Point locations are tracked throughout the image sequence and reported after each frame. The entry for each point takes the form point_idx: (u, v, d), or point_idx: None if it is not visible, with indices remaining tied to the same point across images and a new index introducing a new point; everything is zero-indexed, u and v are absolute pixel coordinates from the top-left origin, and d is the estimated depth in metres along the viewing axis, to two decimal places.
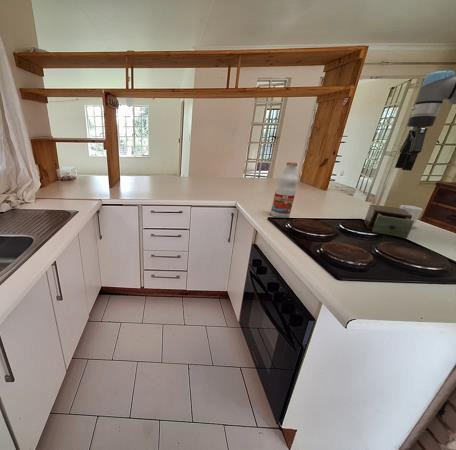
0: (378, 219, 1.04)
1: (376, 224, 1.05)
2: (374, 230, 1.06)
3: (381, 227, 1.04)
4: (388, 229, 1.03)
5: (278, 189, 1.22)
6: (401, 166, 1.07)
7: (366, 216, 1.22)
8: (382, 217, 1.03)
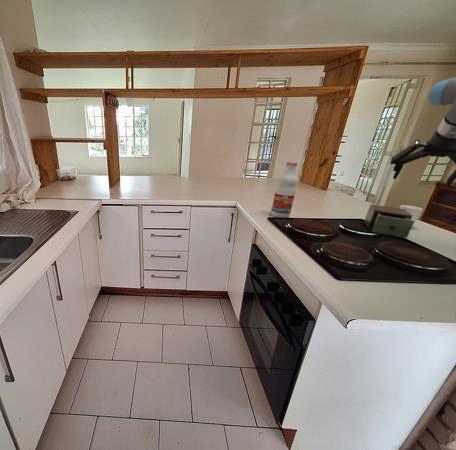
0: (378, 219, 1.04)
1: (376, 224, 1.05)
2: (374, 230, 1.06)
3: (381, 227, 1.04)
4: (388, 229, 1.03)
5: (278, 189, 1.22)
6: None
7: (366, 216, 1.22)
8: (382, 217, 1.03)
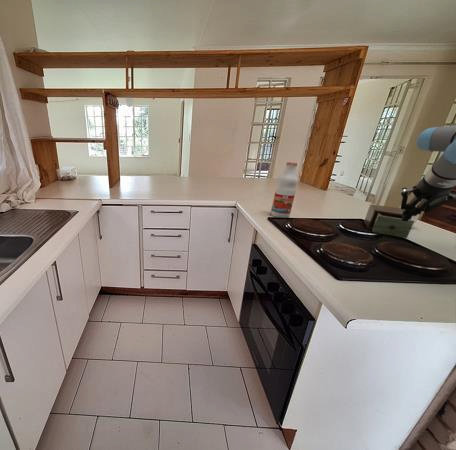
0: (378, 219, 1.04)
1: (376, 224, 1.05)
2: (374, 230, 1.06)
3: (381, 227, 1.04)
4: (388, 229, 1.03)
5: (278, 189, 1.22)
6: None
7: (366, 216, 1.22)
8: (382, 217, 1.03)
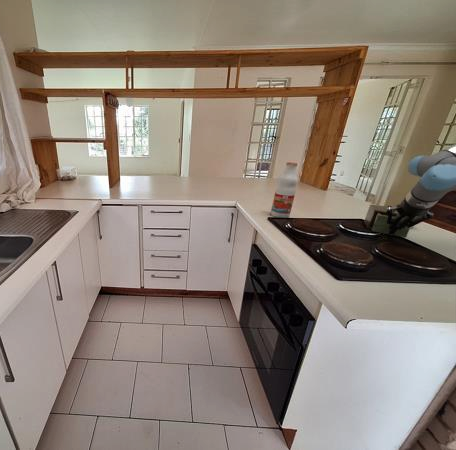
0: (378, 218, 1.05)
1: (376, 223, 1.06)
2: (374, 229, 1.07)
3: (380, 226, 1.05)
4: (387, 228, 1.04)
5: (278, 189, 1.22)
6: None
7: (366, 216, 1.22)
8: (381, 216, 1.04)
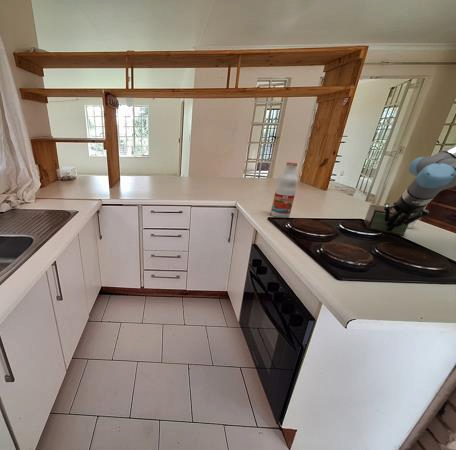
0: (376, 216, 1.09)
1: (374, 221, 1.09)
2: (372, 227, 1.10)
3: (379, 224, 1.09)
4: (385, 225, 1.08)
5: (278, 189, 1.22)
6: None
7: (366, 216, 1.22)
8: (380, 214, 1.08)
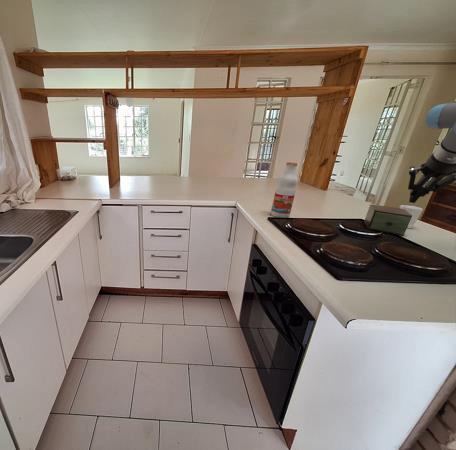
0: (376, 216, 1.09)
1: (374, 221, 1.09)
2: (372, 227, 1.10)
3: (379, 224, 1.09)
4: (385, 225, 1.08)
5: (278, 189, 1.22)
6: None
7: (366, 216, 1.22)
8: (380, 214, 1.08)
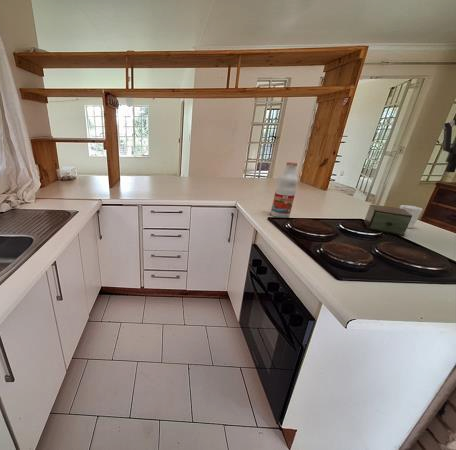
0: (376, 216, 1.09)
1: (374, 221, 1.09)
2: (372, 227, 1.10)
3: (379, 224, 1.09)
4: (385, 225, 1.08)
5: (278, 189, 1.22)
6: None
7: (366, 216, 1.22)
8: (380, 214, 1.08)
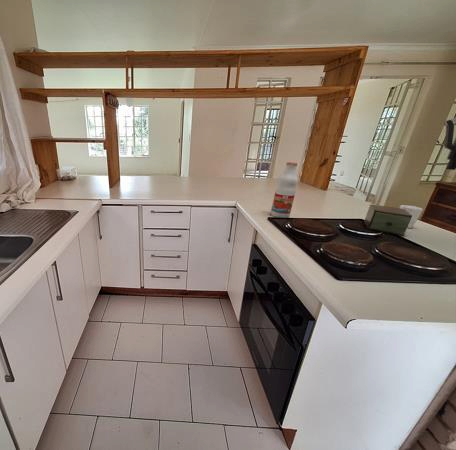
0: (376, 216, 1.09)
1: (374, 221, 1.09)
2: (372, 227, 1.10)
3: (379, 224, 1.09)
4: (385, 225, 1.08)
5: (278, 189, 1.22)
6: None
7: (366, 216, 1.22)
8: (380, 214, 1.08)
